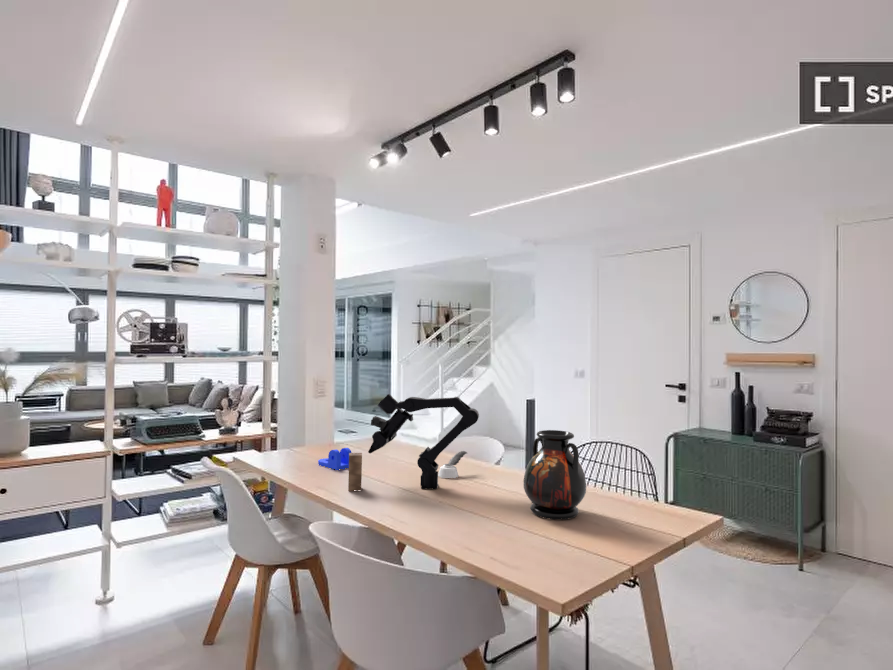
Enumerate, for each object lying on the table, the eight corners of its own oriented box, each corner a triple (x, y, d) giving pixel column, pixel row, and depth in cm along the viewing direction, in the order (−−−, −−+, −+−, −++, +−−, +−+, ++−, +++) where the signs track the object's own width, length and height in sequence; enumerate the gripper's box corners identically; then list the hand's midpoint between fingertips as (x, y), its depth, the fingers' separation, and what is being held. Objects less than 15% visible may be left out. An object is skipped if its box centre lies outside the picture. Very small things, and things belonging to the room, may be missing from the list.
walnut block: (361, 487, 210) (361, 452, 210) (361, 491, 205) (361, 455, 205) (348, 488, 209) (349, 452, 209) (348, 491, 204) (349, 455, 204)
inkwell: (433, 476, 230) (433, 453, 230) (458, 469, 244) (458, 448, 244) (449, 480, 224) (450, 456, 225) (474, 472, 238) (474, 450, 239)
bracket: (351, 468, 243) (352, 448, 244) (336, 471, 237) (337, 451, 238) (329, 461, 256) (329, 443, 256) (314, 464, 250) (315, 445, 250)
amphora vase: (510, 511, 183) (511, 431, 184) (549, 500, 197) (550, 426, 197) (559, 528, 166) (561, 440, 167) (598, 515, 180) (599, 434, 181)
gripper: (387, 406, 225) (364, 433, 226) (375, 412, 206) (350, 441, 207) (406, 423, 223) (383, 451, 224) (396, 430, 205) (371, 460, 206)
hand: (372, 450), depth 215 cm, fingers open, 9 cm apart
